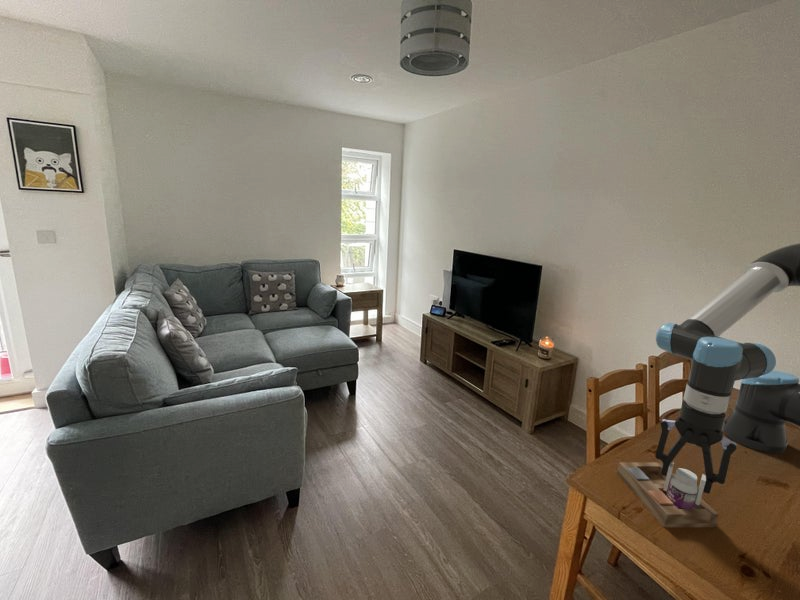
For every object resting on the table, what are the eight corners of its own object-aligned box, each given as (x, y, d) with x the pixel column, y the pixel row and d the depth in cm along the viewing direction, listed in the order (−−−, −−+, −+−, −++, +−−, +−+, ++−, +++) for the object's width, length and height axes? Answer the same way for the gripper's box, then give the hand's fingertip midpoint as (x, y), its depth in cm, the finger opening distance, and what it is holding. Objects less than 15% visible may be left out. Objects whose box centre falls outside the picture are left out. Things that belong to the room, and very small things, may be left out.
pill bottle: (658, 500, 89) (666, 466, 87) (679, 499, 90) (687, 465, 87) (676, 517, 84) (685, 482, 82) (698, 517, 84) (707, 481, 82)
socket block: (659, 473, 100) (662, 461, 99) (715, 527, 83) (719, 512, 82) (617, 473, 100) (619, 461, 99) (664, 527, 83) (667, 512, 82)
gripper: (651, 397, 84) (633, 482, 90) (761, 430, 72) (732, 527, 78) (657, 386, 90) (639, 468, 95) (760, 416, 78) (733, 507, 83)
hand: (681, 494), depth 86 cm, fingers closed on pill bottle, 5 cm apart
